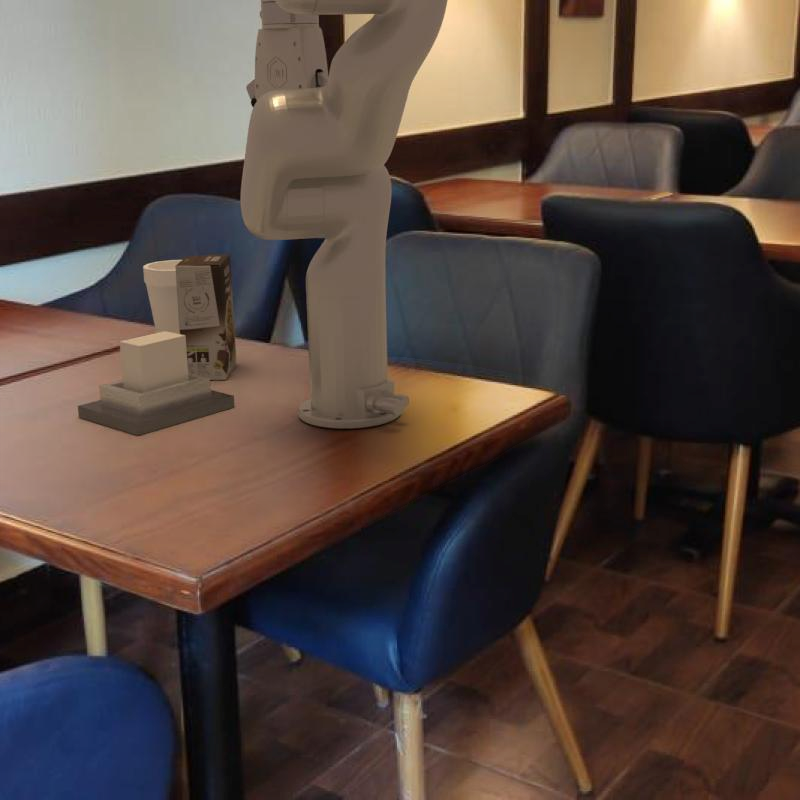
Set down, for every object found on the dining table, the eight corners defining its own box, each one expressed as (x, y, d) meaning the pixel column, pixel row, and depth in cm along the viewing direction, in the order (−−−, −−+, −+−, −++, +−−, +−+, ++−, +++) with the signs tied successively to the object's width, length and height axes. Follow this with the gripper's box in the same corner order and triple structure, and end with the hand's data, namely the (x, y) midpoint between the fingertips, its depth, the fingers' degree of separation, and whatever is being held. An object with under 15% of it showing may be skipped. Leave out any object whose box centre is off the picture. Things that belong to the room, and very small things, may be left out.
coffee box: (228, 380, 165) (221, 264, 160) (181, 381, 165) (173, 264, 161) (238, 364, 174) (231, 253, 169) (193, 364, 174) (186, 253, 169)
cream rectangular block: (145, 409, 147) (139, 346, 144) (125, 404, 149) (119, 341, 147) (189, 397, 152) (185, 335, 149) (169, 392, 154) (165, 331, 152)
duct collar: (234, 407, 152) (232, 376, 151) (137, 435, 142) (135, 403, 140) (174, 391, 160) (172, 362, 159) (78, 417, 149) (75, 386, 148)
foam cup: (183, 360, 176) (177, 272, 173) (136, 353, 181) (129, 267, 177) (225, 346, 184) (220, 262, 180) (179, 340, 189) (173, 258, 185)
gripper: (225, 19, 161) (232, 148, 166) (316, 15, 150) (321, 154, 155) (266, 19, 167) (272, 144, 172) (357, 15, 156) (361, 149, 161)
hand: (295, 149), depth 163 cm, fingers open, 9 cm apart
